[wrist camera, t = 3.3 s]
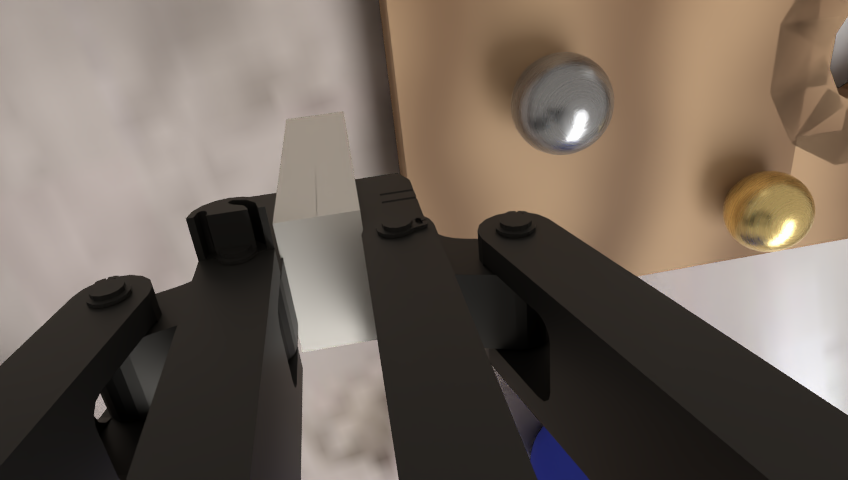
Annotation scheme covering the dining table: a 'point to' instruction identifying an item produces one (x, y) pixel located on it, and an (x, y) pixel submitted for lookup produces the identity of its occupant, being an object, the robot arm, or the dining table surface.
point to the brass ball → (769, 211)
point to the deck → (622, 117)
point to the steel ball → (562, 103)
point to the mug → (553, 460)
